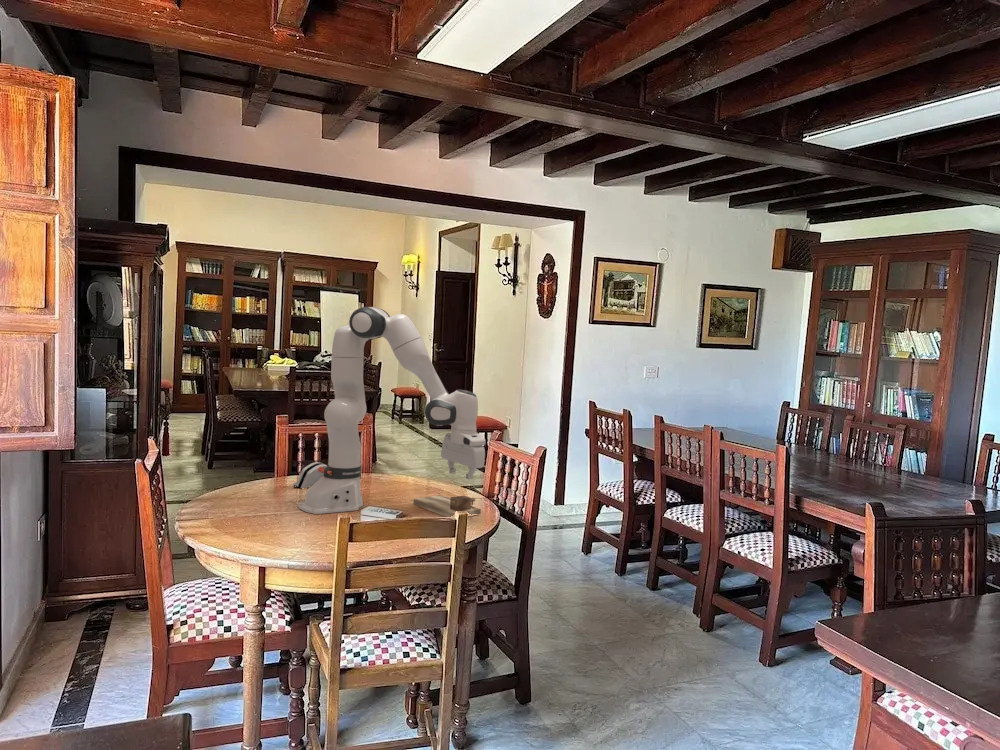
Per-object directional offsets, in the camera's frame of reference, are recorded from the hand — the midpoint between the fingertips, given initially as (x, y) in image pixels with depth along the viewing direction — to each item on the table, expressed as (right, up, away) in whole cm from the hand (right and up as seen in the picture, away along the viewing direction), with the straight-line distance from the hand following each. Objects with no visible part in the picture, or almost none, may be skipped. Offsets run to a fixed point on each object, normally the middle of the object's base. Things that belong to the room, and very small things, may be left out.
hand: (460, 476), depth 236 cm
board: (-6, -13, +7) cm, 16 cm away
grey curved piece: (-62, -9, +35) cm, 71 cm away
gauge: (0, -12, +1) cm, 12 cm away
